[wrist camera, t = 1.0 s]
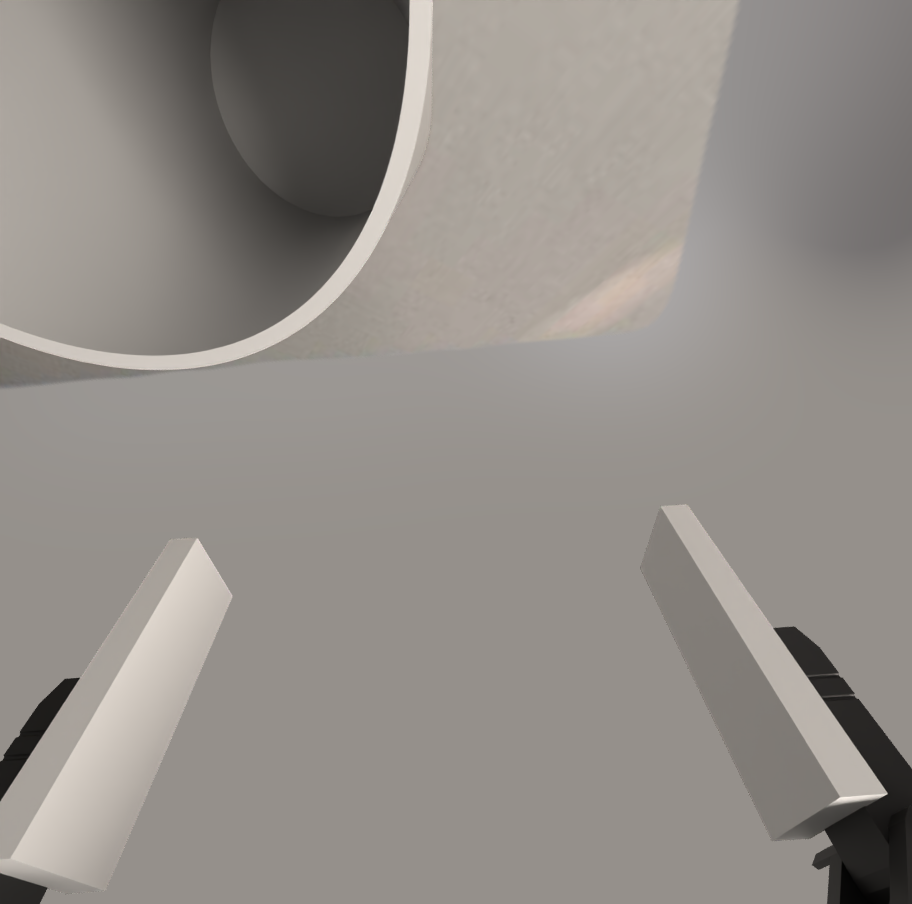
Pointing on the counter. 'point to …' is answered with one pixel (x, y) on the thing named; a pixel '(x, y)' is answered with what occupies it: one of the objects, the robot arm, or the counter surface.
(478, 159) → the counter surface
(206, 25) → the cylinder vase
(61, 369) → the counter surface
